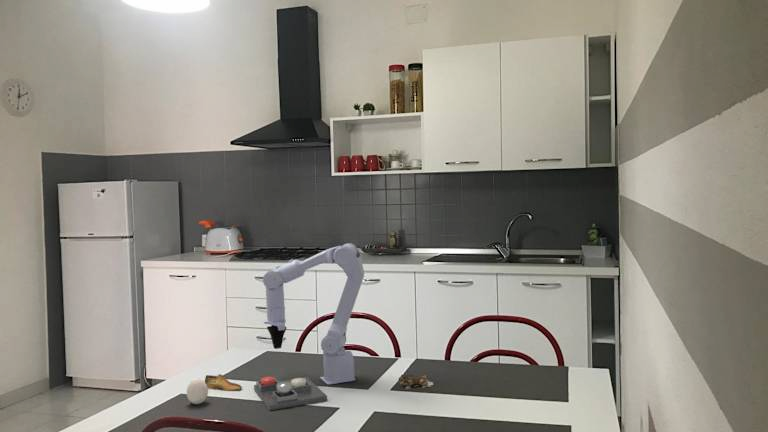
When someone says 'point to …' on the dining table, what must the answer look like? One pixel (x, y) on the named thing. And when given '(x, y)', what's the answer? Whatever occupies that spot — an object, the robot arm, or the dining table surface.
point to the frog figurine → (415, 381)
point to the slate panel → (289, 395)
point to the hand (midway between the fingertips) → (277, 348)
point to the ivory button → (298, 382)
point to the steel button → (284, 388)
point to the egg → (197, 391)
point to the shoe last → (221, 383)
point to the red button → (267, 381)
